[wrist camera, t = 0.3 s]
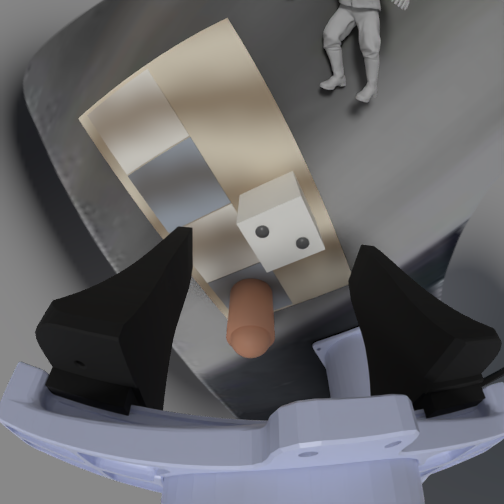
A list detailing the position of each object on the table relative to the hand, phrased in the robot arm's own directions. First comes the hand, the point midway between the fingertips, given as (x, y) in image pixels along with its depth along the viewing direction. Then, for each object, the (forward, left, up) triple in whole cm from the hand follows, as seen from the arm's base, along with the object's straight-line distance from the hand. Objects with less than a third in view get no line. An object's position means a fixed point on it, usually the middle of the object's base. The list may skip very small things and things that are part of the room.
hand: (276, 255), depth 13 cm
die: (-2, 0, -9) cm, 9 cm away
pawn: (-9, +6, -9) cm, 14 cm away
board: (0, +3, -10) cm, 10 cm away
